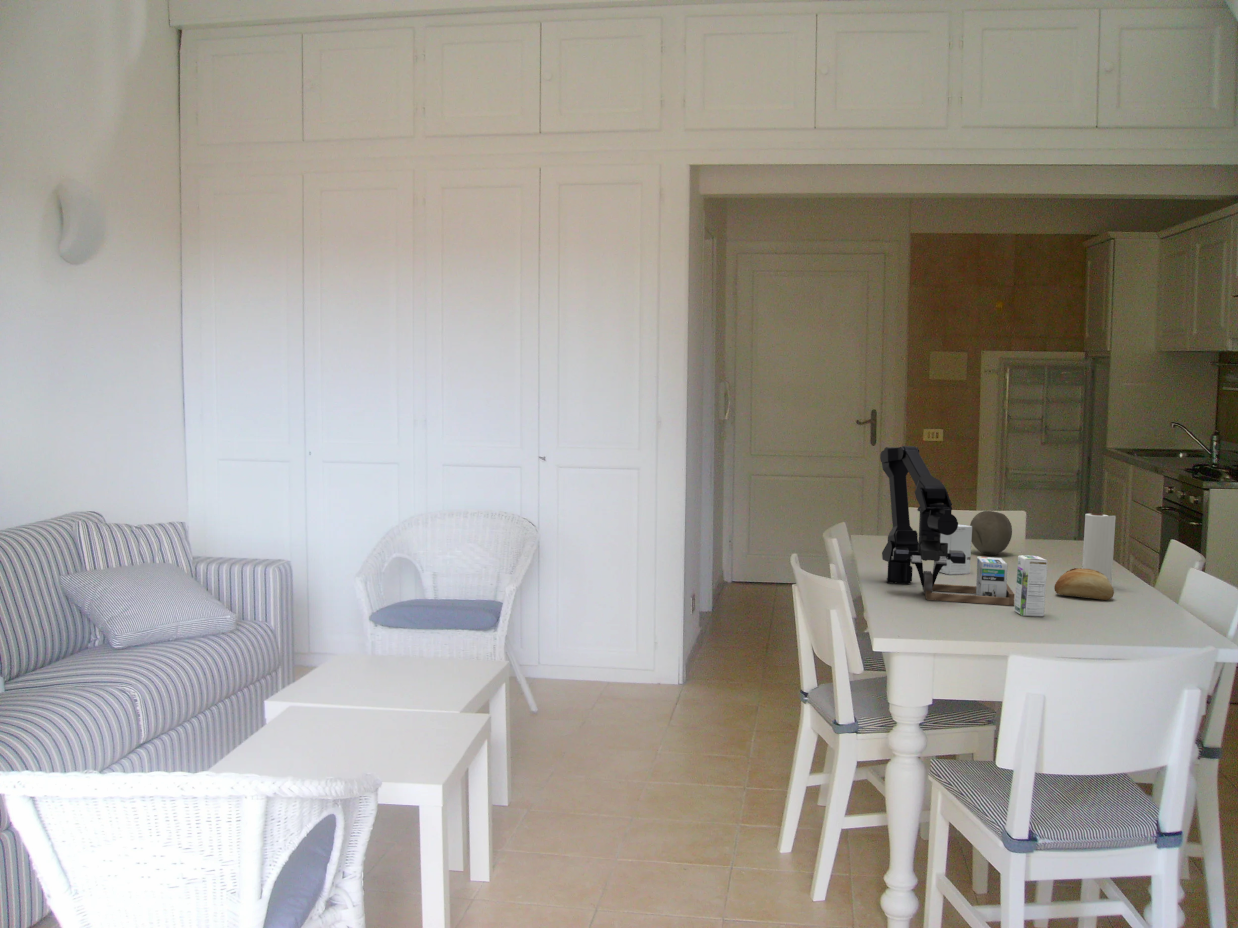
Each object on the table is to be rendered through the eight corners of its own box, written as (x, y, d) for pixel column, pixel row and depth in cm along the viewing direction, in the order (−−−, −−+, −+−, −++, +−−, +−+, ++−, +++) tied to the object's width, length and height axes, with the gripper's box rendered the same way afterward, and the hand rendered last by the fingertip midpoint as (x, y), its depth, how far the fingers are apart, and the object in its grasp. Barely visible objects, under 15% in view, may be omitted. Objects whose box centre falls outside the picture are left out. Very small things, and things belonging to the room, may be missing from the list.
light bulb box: (1006, 604, 281) (1008, 563, 280) (979, 602, 282) (981, 562, 281) (1000, 596, 291) (1002, 557, 290) (974, 594, 293) (976, 555, 292)
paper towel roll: (1078, 587, 307) (1082, 513, 305) (1085, 584, 311) (1089, 512, 310) (1104, 591, 302) (1108, 516, 301) (1111, 588, 307) (1115, 514, 305)
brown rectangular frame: (924, 599, 283) (925, 577, 283) (921, 589, 298) (922, 568, 297) (1013, 605, 278) (1015, 583, 278) (1006, 594, 293) (1007, 573, 292)
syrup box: (1013, 611, 271) (1016, 554, 270) (1037, 611, 271) (1040, 555, 270) (1021, 616, 266) (1024, 558, 265) (1045, 616, 266) (1048, 559, 264)
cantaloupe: (1017, 558, 358) (1019, 514, 357) (975, 557, 358) (977, 513, 357) (1003, 551, 372) (1005, 509, 371) (962, 550, 372) (964, 508, 371)
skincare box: (949, 575, 323) (951, 526, 321) (935, 571, 328) (938, 523, 327) (971, 573, 326) (973, 525, 325) (957, 570, 331) (960, 522, 330)
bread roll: (1052, 592, 299) (1053, 564, 299) (1110, 596, 295) (1112, 568, 294) (1055, 598, 290) (1057, 569, 290) (1115, 603, 286) (1117, 573, 285)
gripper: (895, 532, 283) (892, 590, 284) (968, 535, 279) (966, 594, 280) (894, 526, 294) (891, 582, 295) (964, 530, 290) (962, 586, 291)
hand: (927, 586), depth 290 cm, fingers closed on brown rectangular frame, 2 cm apart
